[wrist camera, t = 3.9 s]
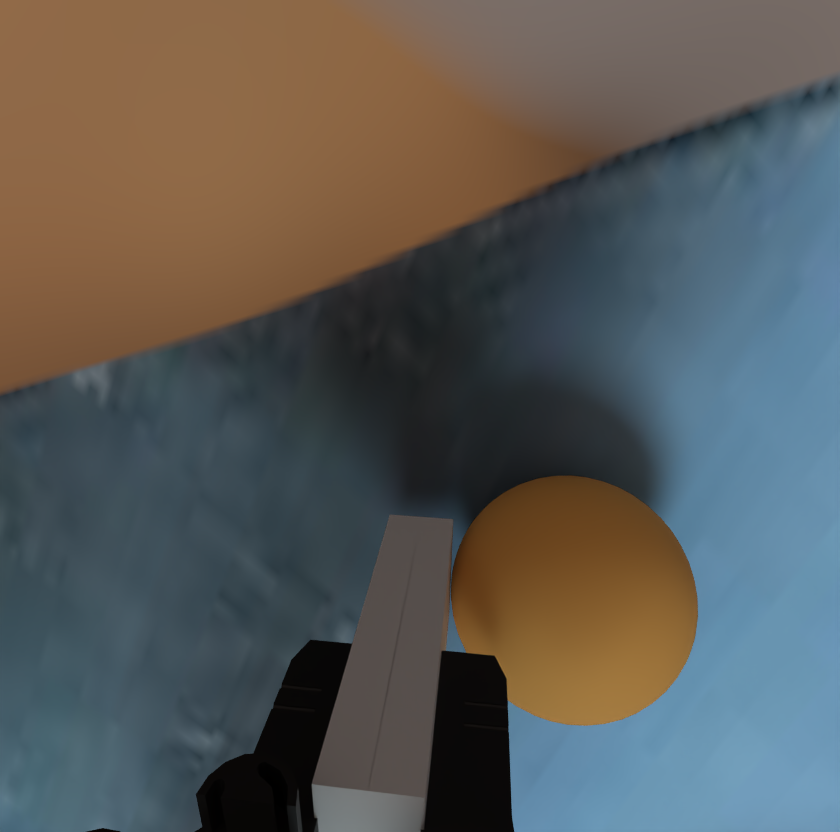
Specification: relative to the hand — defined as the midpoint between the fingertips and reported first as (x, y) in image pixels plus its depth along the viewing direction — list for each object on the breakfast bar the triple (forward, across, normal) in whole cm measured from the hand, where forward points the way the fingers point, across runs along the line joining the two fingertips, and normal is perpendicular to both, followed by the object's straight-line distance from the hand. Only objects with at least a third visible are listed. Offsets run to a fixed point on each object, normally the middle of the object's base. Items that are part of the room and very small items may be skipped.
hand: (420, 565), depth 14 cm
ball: (0, -4, 0) cm, 4 cm away
